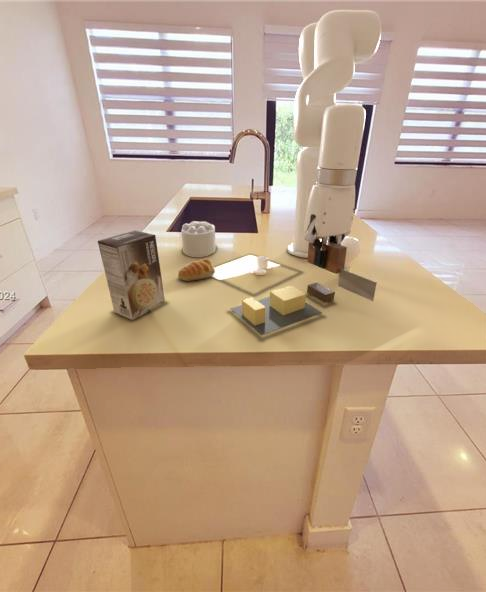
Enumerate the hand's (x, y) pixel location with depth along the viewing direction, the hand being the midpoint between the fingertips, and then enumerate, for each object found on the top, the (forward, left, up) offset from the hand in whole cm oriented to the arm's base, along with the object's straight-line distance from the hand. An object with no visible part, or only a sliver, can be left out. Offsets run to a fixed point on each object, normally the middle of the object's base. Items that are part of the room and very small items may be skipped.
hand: (324, 264), depth 70 cm
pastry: (+19, -27, -9) cm, 34 cm away
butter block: (+10, 0, -8) cm, 13 cm away
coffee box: (+37, -18, -9) cm, 42 cm away
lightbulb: (-16, -7, -9) cm, 20 cm away
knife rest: (0, 0, -9) cm, 9 cm away
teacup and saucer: (+5, -22, -9) cm, 24 cm away
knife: (0, +5, -3) cm, 6 cm away
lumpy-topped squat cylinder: (+10, -46, -9) cm, 48 cm away
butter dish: (+13, 0, -9) cm, 16 cm away
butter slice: (+19, 0, -8) cm, 20 cm away
